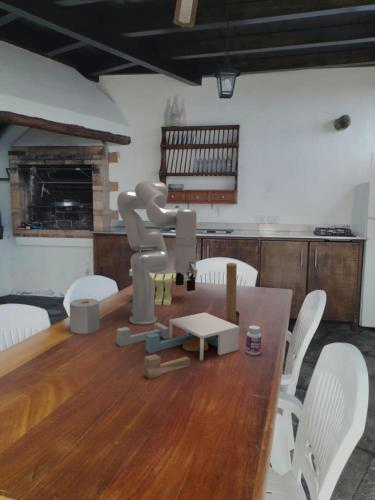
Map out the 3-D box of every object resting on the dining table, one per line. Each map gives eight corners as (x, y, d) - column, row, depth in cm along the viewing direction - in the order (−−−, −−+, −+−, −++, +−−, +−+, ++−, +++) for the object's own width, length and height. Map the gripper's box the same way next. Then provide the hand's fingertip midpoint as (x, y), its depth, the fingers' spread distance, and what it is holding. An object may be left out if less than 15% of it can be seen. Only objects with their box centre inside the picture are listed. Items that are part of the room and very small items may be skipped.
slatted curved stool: (187, 297, 214) (187, 266, 212) (186, 305, 198) (187, 271, 196) (134, 296, 215) (134, 265, 212) (129, 303, 199) (129, 270, 196)
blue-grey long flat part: (145, 350, 139) (145, 334, 138) (201, 336, 154) (202, 322, 154) (164, 362, 129) (164, 346, 128) (221, 346, 144) (222, 331, 144)
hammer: (233, 342, 155) (233, 273, 145) (220, 341, 156) (220, 272, 146) (240, 319, 173) (240, 256, 164) (229, 317, 174) (229, 256, 165)
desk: (168, 342, 148) (169, 319, 146) (204, 333, 158) (204, 312, 157) (201, 360, 131) (201, 335, 130) (238, 349, 142) (239, 326, 140)
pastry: (185, 353, 138) (186, 343, 137) (179, 347, 144) (180, 337, 143) (209, 350, 141) (209, 341, 140) (202, 344, 147) (203, 334, 147)
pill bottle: (251, 356, 136) (252, 330, 135) (242, 351, 141) (243, 325, 139) (263, 353, 138) (264, 328, 137) (254, 348, 143) (255, 323, 142)
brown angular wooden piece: (144, 375, 120) (144, 357, 119) (185, 363, 130) (185, 346, 129) (149, 378, 118) (149, 360, 117) (190, 366, 127) (191, 349, 126)
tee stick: (114, 341, 147) (114, 327, 146) (158, 332, 159) (158, 318, 158) (123, 348, 140) (123, 333, 140) (168, 337, 152) (169, 323, 151)
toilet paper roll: (105, 329, 161) (104, 302, 159) (79, 336, 152) (79, 308, 150) (89, 322, 169) (88, 297, 167) (64, 328, 160) (63, 302, 159)
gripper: (167, 240, 147) (166, 283, 149) (186, 245, 131) (186, 294, 134) (184, 239, 150) (184, 282, 152) (205, 244, 135) (204, 292, 137)
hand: (185, 287), depth 143 cm, fingers open, 9 cm apart
